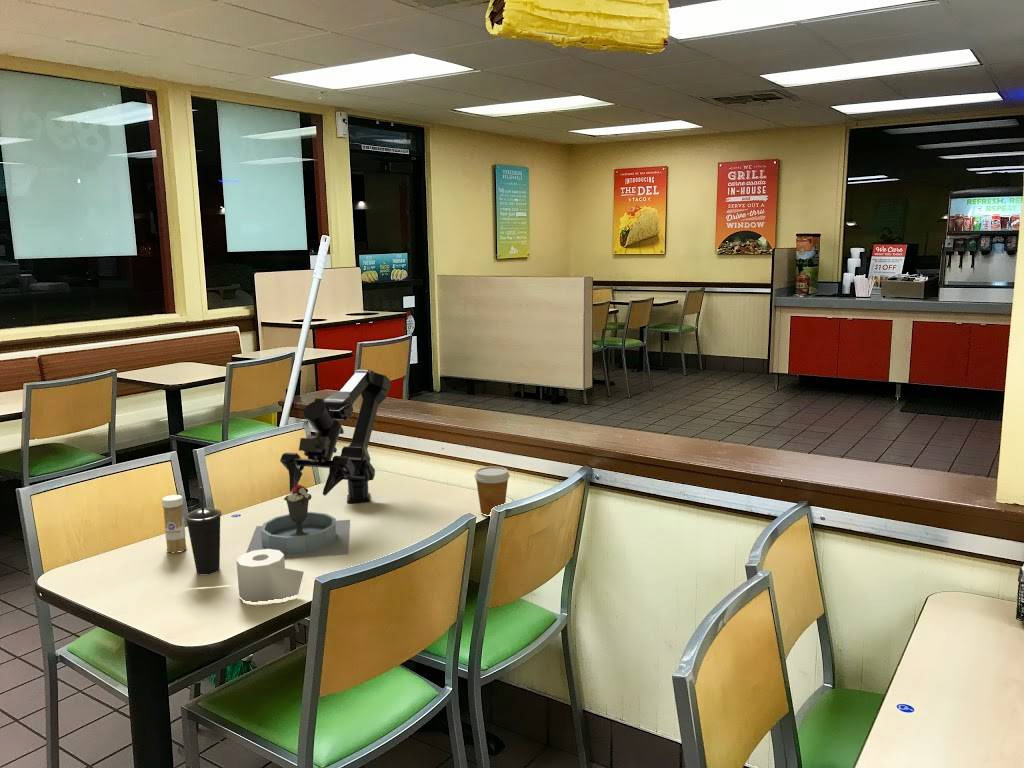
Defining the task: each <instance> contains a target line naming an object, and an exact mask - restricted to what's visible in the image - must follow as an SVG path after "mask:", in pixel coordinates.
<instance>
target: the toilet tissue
mask: <svg viewBox="0 0 1024 768" xmlns="http://www.w3.org/2000/svg"><path fill="white" fill-rule="evenodd" d="M285 560H286V559H284V554H283V553H282V552H281V551H280V550H273V549H262V550H254V551H251V552H248V553H246V552H245V553H243V554H241V555H240V556H239V557H238V558H237V559H236V571H237V583H238V584H237V585H238V594H239V595H238V596H240V597H241V598H242V599H243V600H245V601H251V602H258V601H268V600H274V599H283V598H286V597H291V596H294V595H297V594H298V595H299V592H300V588H301V583H302V581H303V577H304V571H301V570H297V569H291V568H286V564H285Z"/></svg>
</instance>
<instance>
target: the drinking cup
mask: <svg viewBox="0 0 1024 768" xmlns="http://www.w3.org/2000/svg"><path fill="white" fill-rule="evenodd" d="M198 488H199V498H200V499H199V500H200V508H197V509H194V510H192V511H191V512H188V513H187V514H185V516H184V521H186V524H187V530H188V535H189V539H190V544H191V549H192V555H193V561H194V566H195V570H196V571H195V572H196V574H197V573H199V574H198V575H200V574H208V575H212V574H211V573H213V574H215V573H217V572H219V571H218V570H220V568H221V567H220V566H221V565H220V563H221V561H220V559H221V554H220V553H221V516H222V511H221V510H220V509H217V508H212V507H205V499H204V490H203V489H204V488H203V486H199V487H198ZM216 571H217V572H216ZM214 572H215V573H214Z"/></svg>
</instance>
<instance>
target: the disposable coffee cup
mask: <svg viewBox="0 0 1024 768" xmlns="http://www.w3.org/2000/svg"><path fill="white" fill-rule="evenodd" d="M510 475H511V474H510V473H509V471H508V468H505V467H501V466H490V465H489V466H483V467H480V468H477V469H476V470H475V474H474V476H473V477H474V479H475V481H476V488H477V494H478V495H477V496H478V501H479V507H480V514H481V513H483V514H486V515H489V514H490V512H491V509H492V508H493V507H495V506H498V505H501V504H504V503H505V504H506V500H507V492H508V491H507V490H508V482H509V478H510V477H511V476H510Z"/></svg>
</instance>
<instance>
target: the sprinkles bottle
mask: <svg viewBox="0 0 1024 768" xmlns="http://www.w3.org/2000/svg"><path fill="white" fill-rule="evenodd" d="M161 499H162V500H161V504H162V508H163V518H164V532H165V534H164V535H165V539H166V552H167V551H168V552H167V553H169V552H178V551H182V550H185V549H186V548H187V541H186V527H185V516H184V507H183V506H184V499H183V496H182V495H180V494H171V495H167V496H164V497H162V498H161ZM187 549H188V548H187ZM187 549H186V550H187ZM186 550H185V551H186ZM182 552H183V551H182Z"/></svg>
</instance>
